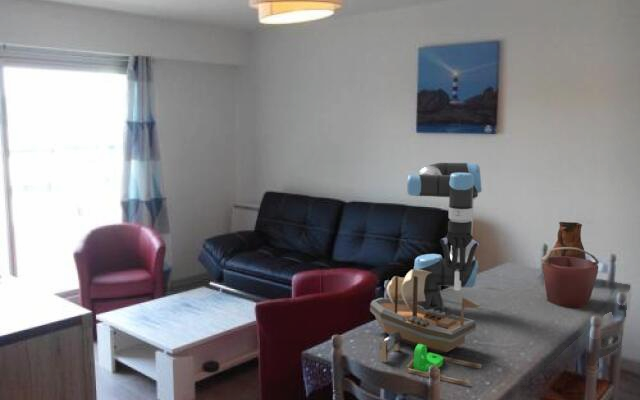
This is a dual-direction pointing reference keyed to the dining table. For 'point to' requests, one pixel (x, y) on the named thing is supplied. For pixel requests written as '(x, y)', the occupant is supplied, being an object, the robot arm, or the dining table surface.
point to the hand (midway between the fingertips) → (457, 289)
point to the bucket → (569, 278)
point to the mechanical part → (425, 359)
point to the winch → (390, 345)
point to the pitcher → (569, 240)
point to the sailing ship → (420, 315)
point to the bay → (448, 379)
